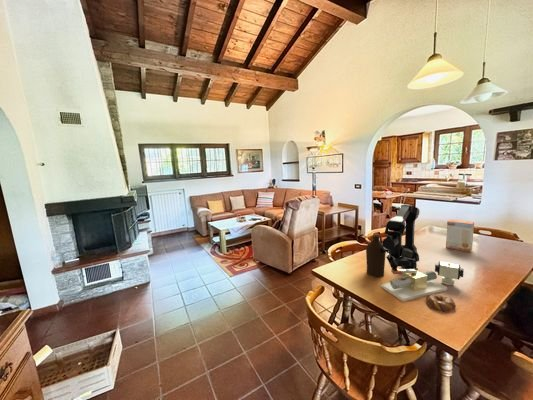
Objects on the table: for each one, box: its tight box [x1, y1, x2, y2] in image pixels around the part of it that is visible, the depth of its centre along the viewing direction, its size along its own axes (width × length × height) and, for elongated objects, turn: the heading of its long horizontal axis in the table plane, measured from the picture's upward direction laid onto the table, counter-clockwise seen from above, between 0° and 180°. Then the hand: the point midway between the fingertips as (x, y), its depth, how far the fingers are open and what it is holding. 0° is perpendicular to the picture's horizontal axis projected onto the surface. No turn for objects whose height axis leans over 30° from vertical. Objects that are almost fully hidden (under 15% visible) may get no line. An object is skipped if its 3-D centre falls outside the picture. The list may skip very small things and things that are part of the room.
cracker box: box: [445, 219, 475, 253], centre depth 163 cm, size 14×6×21 cm, turn 38°
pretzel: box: [425, 293, 457, 313], centre depth 105 cm, size 12×11×4 cm
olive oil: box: [365, 233, 387, 278], centre depth 135 cm, size 11×11×25 cm
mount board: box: [381, 280, 448, 302], centre depth 120 cm, size 14×28×2 cm, turn 105°
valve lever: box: [391, 268, 418, 275], centre depth 118 cm, size 12×3×2 cm, turn 87°
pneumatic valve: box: [434, 261, 464, 286], centre depth 121 cm, size 6×12×12 cm, turn 51°
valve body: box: [389, 269, 438, 291], centre depth 119 cm, size 8×26×7 cm, turn 105°
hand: (394, 271), depth 121 cm, fingers closed
